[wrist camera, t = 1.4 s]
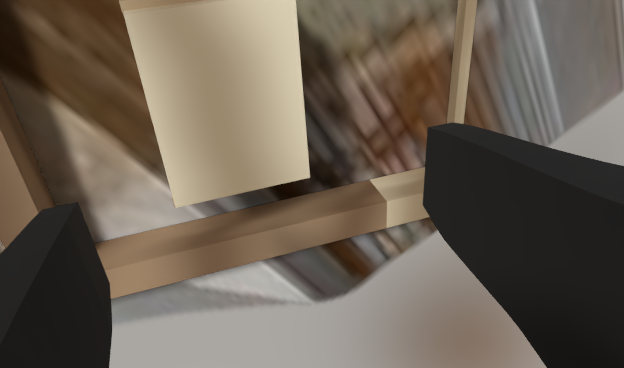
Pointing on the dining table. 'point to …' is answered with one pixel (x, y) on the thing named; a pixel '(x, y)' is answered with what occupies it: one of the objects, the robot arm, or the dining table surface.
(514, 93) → the dining table surface
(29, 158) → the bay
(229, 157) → the beige cube
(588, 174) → the robot arm
